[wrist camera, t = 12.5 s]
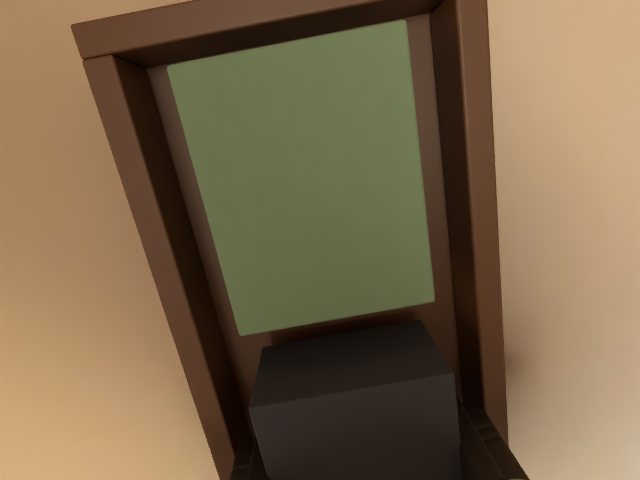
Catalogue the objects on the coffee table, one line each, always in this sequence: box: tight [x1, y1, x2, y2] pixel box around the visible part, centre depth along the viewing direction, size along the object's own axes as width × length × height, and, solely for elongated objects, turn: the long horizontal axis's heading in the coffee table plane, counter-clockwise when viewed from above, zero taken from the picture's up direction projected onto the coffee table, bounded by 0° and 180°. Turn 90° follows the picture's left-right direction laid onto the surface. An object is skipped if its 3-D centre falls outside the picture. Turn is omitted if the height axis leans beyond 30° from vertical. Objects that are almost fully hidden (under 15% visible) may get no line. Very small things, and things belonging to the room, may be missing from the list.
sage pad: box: [167, 20, 435, 336], centre depth 10 cm, size 7×6×3 cm
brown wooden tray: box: [71, 0, 509, 480], centre depth 12 cm, size 19×10×3 cm, turn 10°
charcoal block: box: [248, 320, 463, 480], centre depth 12 cm, size 7×6×3 cm
